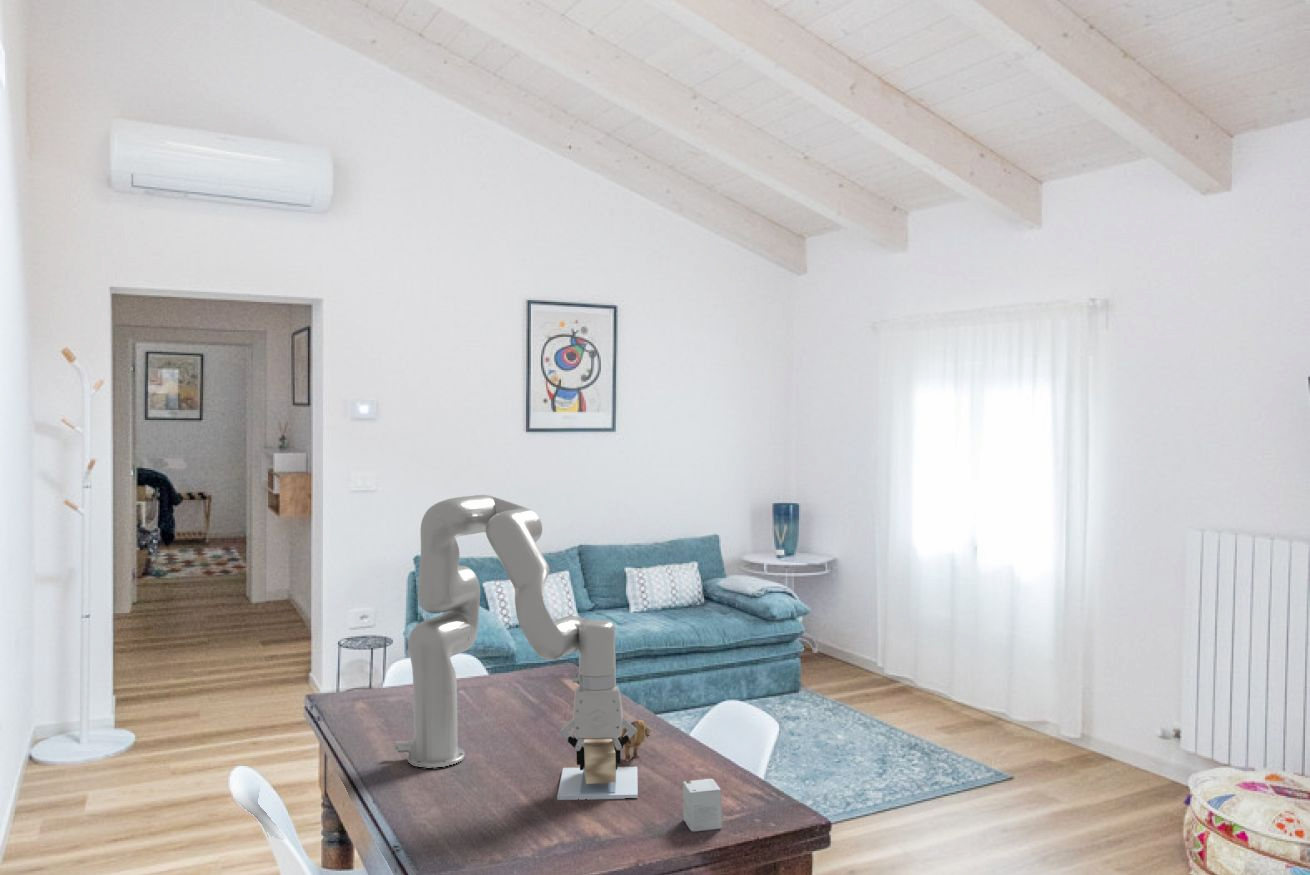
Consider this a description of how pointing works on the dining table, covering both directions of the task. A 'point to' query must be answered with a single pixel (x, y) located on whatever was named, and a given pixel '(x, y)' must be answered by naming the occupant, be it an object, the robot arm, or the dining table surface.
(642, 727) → the lion figurine
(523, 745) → the dining table surface
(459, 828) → the dining table surface
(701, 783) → the skincare box
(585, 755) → the oak block
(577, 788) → the board
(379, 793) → the dining table surface
